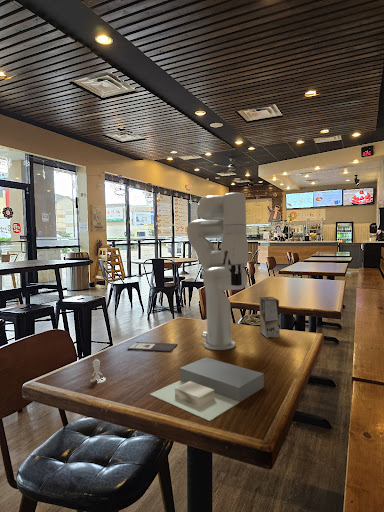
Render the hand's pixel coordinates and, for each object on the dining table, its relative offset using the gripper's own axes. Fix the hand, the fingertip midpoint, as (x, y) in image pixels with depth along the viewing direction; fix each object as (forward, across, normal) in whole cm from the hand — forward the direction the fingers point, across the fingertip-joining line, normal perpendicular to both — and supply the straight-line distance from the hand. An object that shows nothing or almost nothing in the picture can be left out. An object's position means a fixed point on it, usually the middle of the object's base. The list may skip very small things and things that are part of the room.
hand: (236, 285), depth 116 cm
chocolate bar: (+28, +6, -38) cm, 47 cm away
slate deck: (+27, +16, +5) cm, 32 cm away
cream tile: (+24, +28, +5) cm, 37 cm away
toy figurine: (+27, +39, -26) cm, 54 cm away
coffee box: (+27, -37, -10) cm, 47 cm away
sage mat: (+27, +28, +5) cm, 39 cm away
